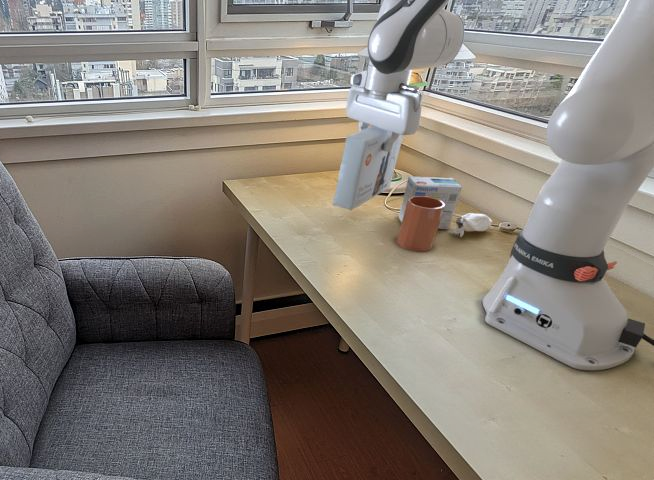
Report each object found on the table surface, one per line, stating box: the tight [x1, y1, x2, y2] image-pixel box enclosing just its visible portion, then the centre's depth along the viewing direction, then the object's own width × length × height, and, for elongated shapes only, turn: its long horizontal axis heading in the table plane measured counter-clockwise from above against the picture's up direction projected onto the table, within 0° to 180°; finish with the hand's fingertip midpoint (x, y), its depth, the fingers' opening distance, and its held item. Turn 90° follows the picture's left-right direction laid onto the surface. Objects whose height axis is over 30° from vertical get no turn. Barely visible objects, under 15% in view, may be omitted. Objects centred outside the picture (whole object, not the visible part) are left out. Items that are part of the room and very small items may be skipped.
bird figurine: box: [450, 212, 495, 238], centre depth 111 cm, size 5×7×10 cm
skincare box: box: [332, 125, 404, 211], centre depth 111 cm, size 21×5×16 cm, turn 138°
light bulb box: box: [398, 175, 463, 230], centre depth 114 cm, size 11×7×11 cm, turn 84°
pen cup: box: [396, 196, 445, 252], centre depth 105 cm, size 7×7×10 cm
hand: (374, 146), depth 109 cm, fingers closed on skincare box, 6 cm apart
